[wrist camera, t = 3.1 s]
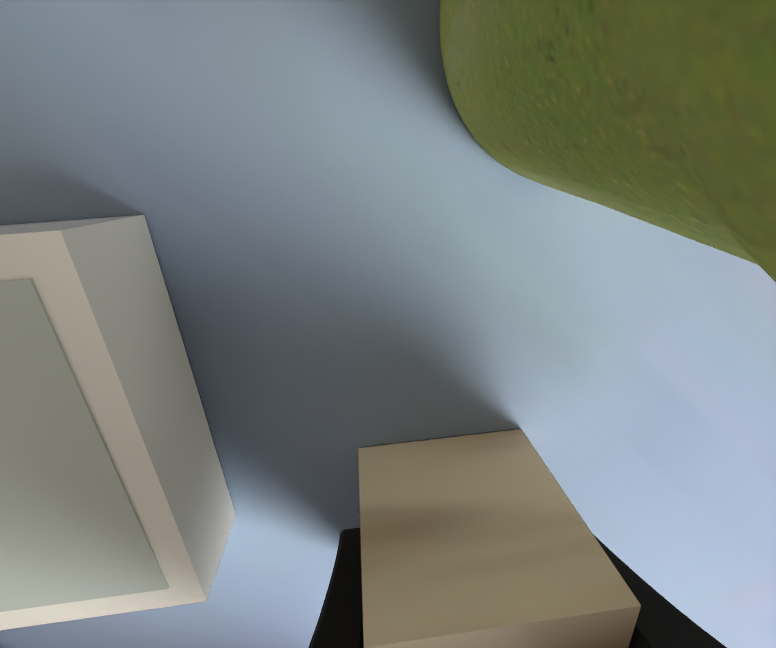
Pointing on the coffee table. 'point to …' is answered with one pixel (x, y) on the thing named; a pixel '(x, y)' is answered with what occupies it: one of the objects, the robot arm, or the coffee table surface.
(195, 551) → the cream square tray
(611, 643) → the maple cube
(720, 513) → the coffee table surface
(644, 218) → the plant pot
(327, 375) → the coffee table surface
